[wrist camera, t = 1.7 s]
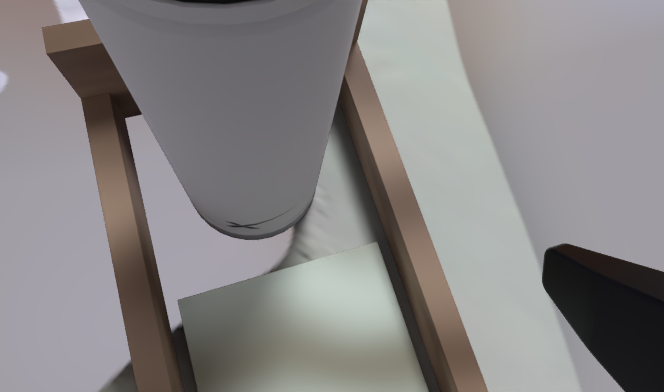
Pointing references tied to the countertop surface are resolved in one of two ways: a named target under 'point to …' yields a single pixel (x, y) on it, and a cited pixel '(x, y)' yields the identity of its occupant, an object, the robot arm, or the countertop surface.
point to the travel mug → (235, 97)
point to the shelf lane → (280, 286)
